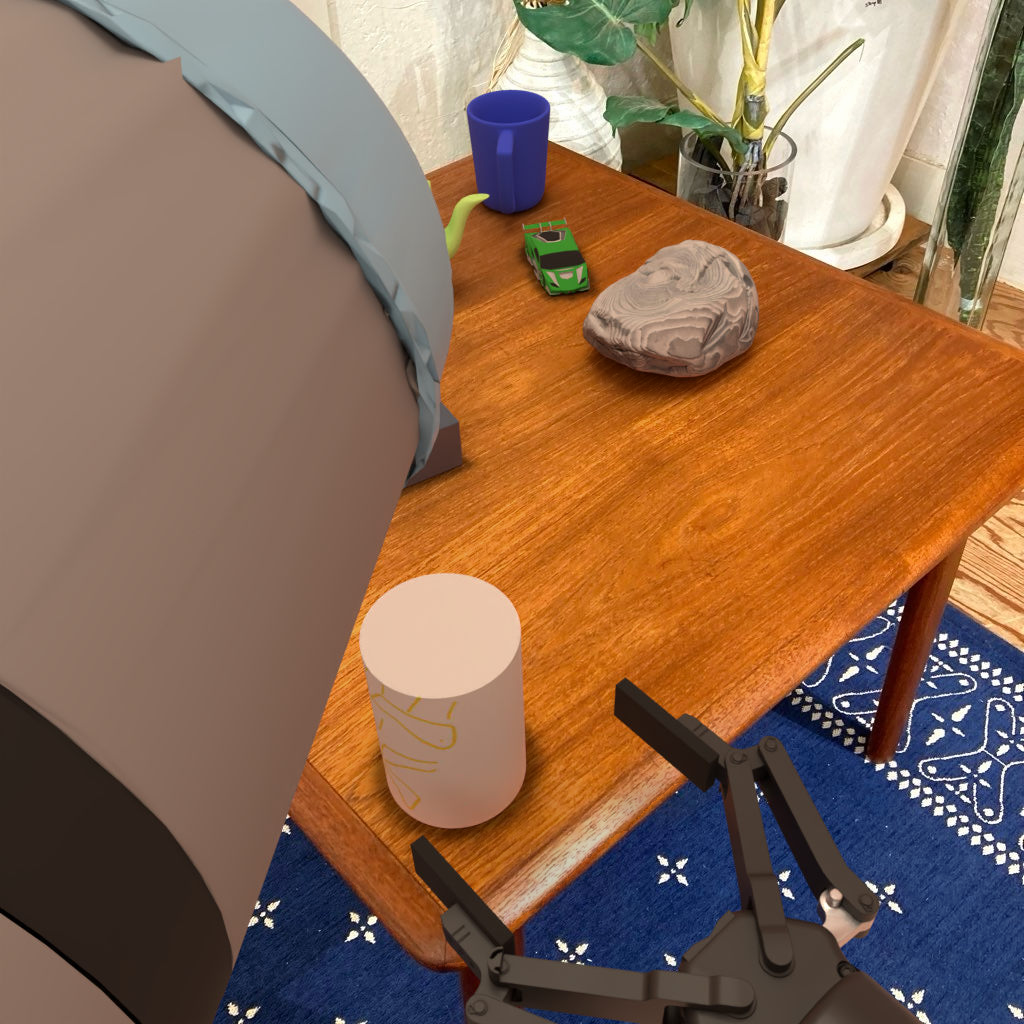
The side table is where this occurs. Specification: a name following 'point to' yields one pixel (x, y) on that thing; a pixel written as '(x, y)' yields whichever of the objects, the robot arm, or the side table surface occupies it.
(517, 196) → the mug
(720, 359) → the decorative stone
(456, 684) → the doodled pink cylinder
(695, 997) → the robot arm
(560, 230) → the toy car
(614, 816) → the side table surface
